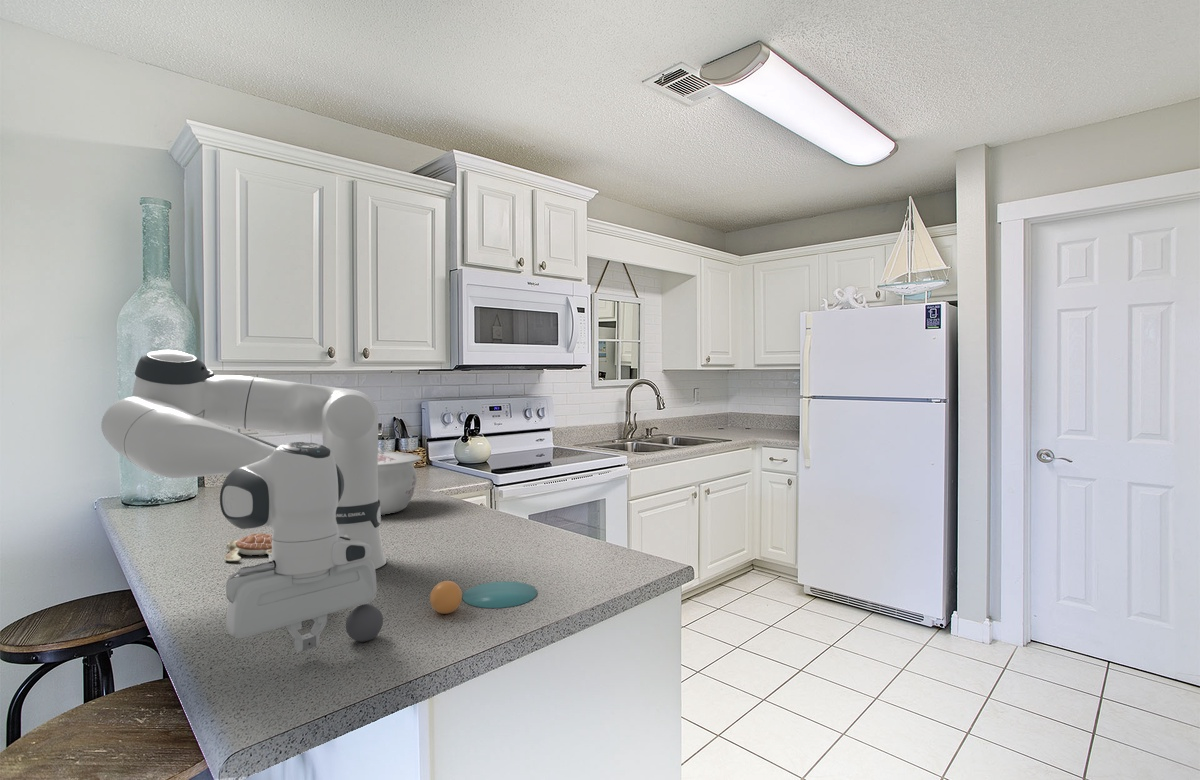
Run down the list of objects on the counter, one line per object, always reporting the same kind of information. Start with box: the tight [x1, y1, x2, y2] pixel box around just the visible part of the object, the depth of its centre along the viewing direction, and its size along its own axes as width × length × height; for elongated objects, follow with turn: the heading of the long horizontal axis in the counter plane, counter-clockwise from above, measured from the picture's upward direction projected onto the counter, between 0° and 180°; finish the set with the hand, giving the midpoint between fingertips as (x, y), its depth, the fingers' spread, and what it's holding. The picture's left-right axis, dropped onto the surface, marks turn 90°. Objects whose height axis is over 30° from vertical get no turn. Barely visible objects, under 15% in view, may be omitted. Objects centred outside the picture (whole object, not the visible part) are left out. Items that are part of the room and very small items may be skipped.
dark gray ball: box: [345, 603, 384, 642], centre depth 95 cm, size 6×6×6 cm
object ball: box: [429, 580, 463, 615], centre depth 106 cm, size 6×6×6 cm
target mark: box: [462, 580, 538, 609], centre depth 115 cm, size 14×14×1 cm
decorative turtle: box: [224, 532, 272, 562], centre depth 145 cm, size 18×17×5 cm
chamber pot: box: [378, 446, 423, 516], centre depth 190 cm, size 28×28×21 cm
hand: (307, 648), depth 88 cm, fingers closed
